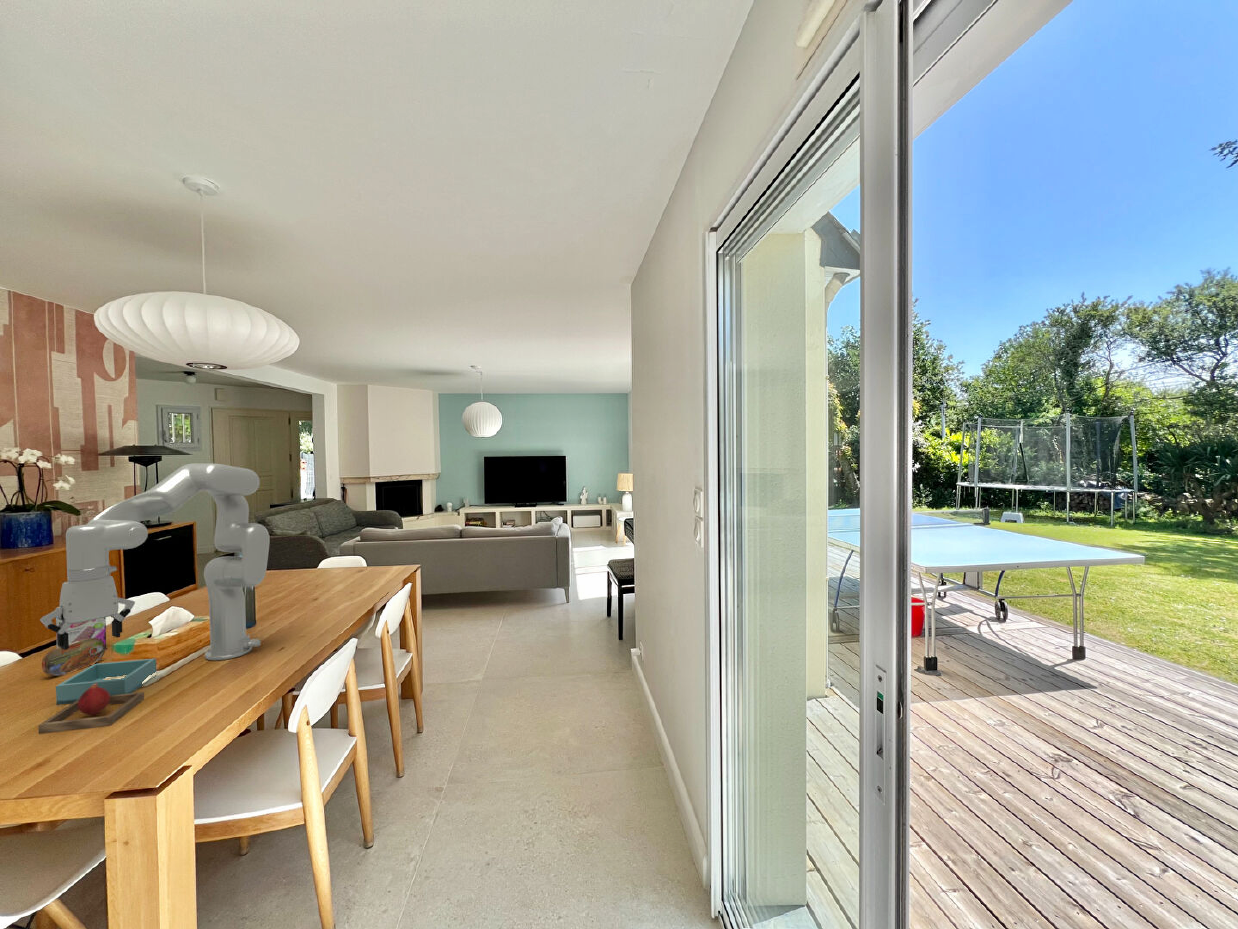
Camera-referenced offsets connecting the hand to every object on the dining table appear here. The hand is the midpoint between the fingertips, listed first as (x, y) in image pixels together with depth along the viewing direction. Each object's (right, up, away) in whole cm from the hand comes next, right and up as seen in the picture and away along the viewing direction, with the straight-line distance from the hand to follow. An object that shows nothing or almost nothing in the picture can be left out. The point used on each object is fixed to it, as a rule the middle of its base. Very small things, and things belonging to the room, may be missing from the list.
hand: (91, 642), depth 136 cm
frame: (0, -19, +1) cm, 19 cm away
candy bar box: (-43, -18, +41) cm, 62 cm away
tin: (-33, -18, +29) cm, 48 cm away
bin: (-10, -18, +16) cm, 26 cm away
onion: (0, -19, +1) cm, 19 cm away
